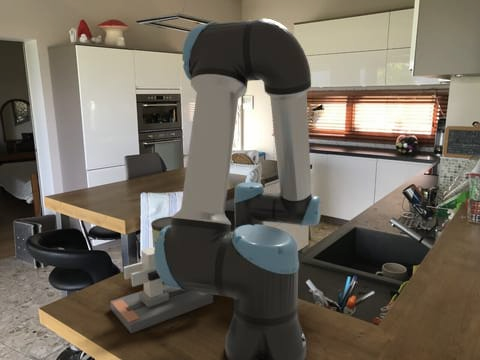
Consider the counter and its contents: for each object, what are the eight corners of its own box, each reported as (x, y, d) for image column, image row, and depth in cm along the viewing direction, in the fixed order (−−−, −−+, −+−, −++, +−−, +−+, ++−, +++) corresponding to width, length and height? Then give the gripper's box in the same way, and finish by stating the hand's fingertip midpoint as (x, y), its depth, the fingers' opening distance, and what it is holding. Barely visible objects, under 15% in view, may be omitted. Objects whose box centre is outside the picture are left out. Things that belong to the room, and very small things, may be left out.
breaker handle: (169, 300, 88) (166, 251, 86) (148, 307, 85) (144, 257, 83) (159, 291, 92) (156, 245, 89) (139, 298, 89) (135, 250, 87)
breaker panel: (213, 302, 91) (213, 294, 91) (131, 333, 80) (130, 324, 79) (187, 283, 101) (187, 276, 100) (110, 309, 89) (110, 300, 88)
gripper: (238, 275, 92) (145, 308, 78) (201, 254, 105) (115, 279, 91) (238, 245, 90) (143, 273, 76) (200, 227, 103) (113, 248, 89)
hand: (128, 276), depth 84 cm, fingers closed on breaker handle, 3 cm apart
